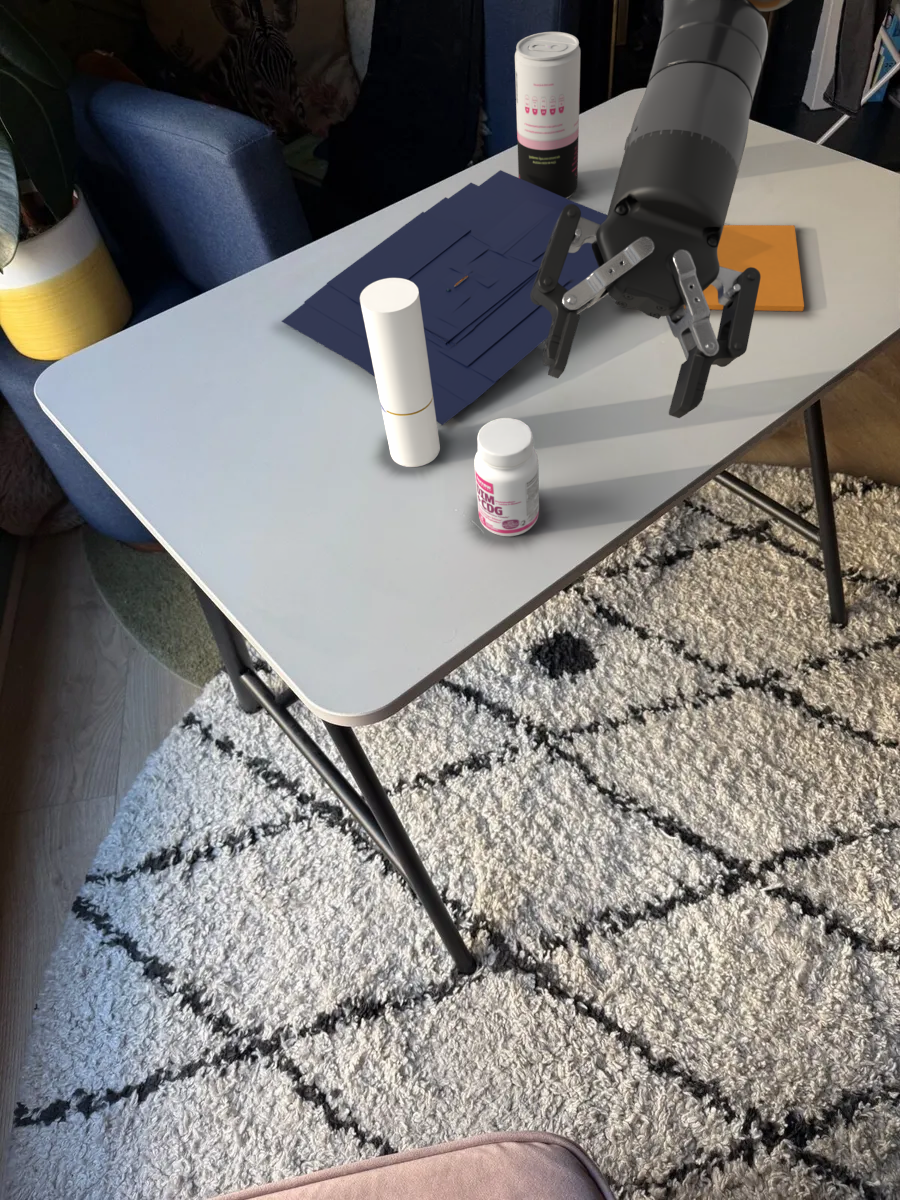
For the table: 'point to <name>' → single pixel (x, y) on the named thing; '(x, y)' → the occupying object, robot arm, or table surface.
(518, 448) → the pill bottle
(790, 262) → the amber mat
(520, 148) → the beverage can
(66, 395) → the table surface
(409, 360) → the tube
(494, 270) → the papers
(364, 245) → the table surface
